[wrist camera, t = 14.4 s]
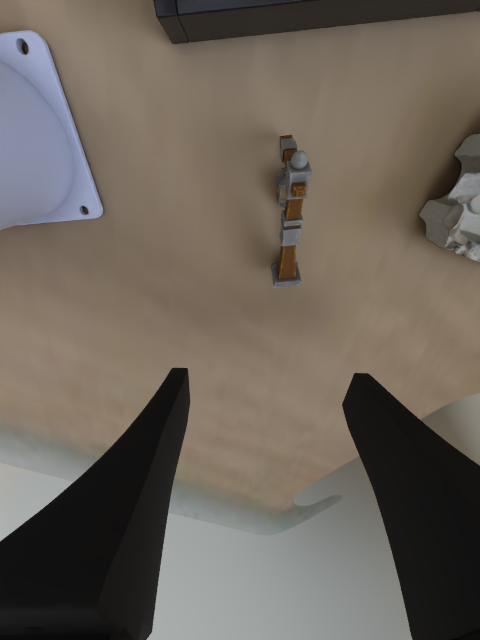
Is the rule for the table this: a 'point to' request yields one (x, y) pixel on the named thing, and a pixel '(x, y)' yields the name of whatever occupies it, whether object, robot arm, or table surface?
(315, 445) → the table surface
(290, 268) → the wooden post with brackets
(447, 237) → the egg carton
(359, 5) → the frame
